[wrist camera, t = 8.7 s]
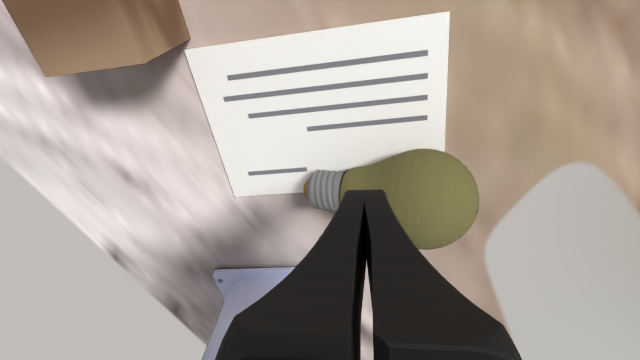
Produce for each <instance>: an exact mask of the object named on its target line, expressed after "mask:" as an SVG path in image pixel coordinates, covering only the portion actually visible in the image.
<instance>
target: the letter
mask: <svg viewBox="0 0 640 360" xmlns="http://www.w3.org/2000/svg"><path fill="white" fill-rule="evenodd" d="M449 18H450V12H449V11H447V12H440V13H433V14H427V15H420V16H413V17H406V18H399V19H392V20H385V21H378V22H371V23H364V24H358V25H351V26H344V27H337V28H330V29H323V30H316V31H309V32H302V33H295V34H288V35H282V36H275V37H268V38H261V39H254V40H247V41H240V42H233V43H226V44H219V45H212V46H206V47H199V48H192V49H185V50H184V52H185V54H186V57H187V60H188V63H189V66H190V69H191V72H192V75H193V78H194V81H195V83H196V86H197V89H198V92H199V95H200V98H201V101H202V104H203V107H204V109H205V112H206V115H207V118H208V121H209V124H210V127H211V130H212V133H213V136H214V138H215V141H216V144H217V147H218V150H219V153H220V156H221V159H222V162H223V164H224V167H225V170H226V173H227V176H228V179H229V182H230V185H231V188H232V191H233V193H234V196H235V197H241V196H257V195H272V194H287V193H302V192H304V191H303V188H304V184H305V182H306V181H307V180H308V179H309V178H310V177H311V176H312V174H313V173H314V172H315V171H316V170H325V171H326V170H329V171H333V170H334V171H336V172H337V171H345V170H346V169H351V168H354V167H360V166H367V165H371V164H374V163H377V162H380V161H383V160H385V159H387V158H390V157H392V156H394V155H397V154H399V153H402V152H405V151H408V150H414V149H434V150H439V151H442V152H444V149H445V123H446V97H447V70H448V44H449Z"/></svg>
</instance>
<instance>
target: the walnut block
mask: <svg viewBox="0 0 640 360" xmlns="http://www.w3.org/2000/svg"><path fill="white" fill-rule="evenodd" d="M2 1H3V3H4V5H5V7H6V8H7V10H8V12H9V14H10V15H11V17H12V19H13V21H14V23H15V24H16V26H17V28H18V30H19V31H20V33H21V35H22V37H23V38H24V40H25V42H26V44H27V45H28V47H29V49H30V51H31V52H32V54H33V56H34V58H35V59H36V61H37V63H38V65H39V67H40V68H41V70H42V72H43V74H44V75H45V77H52V76H59V75H66V74H73V73H81V72H88V71H95V70H102V69H109V68H117V67H124V66H131V65H138V64H145V63H146V62H148V61H150V60H152V59H154V58H156V57H158V56H159V55H161V54H163V53H165V52H167V51H169V50H171V49H172V48H174V47H176V46H178V45H180V44H182V43H184V42H185V41H187V40H189V39H191V38H190V35H189V32H188V29H187V26H186V23H185V20H184V17H183V14H182V10H181V7H180V4H179V1H178V0H2Z"/></svg>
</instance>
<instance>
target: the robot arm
mask: <svg viewBox="0 0 640 360" xmlns="http://www.w3.org/2000/svg"><path fill="white" fill-rule="evenodd" d="M366 259H367V267H368V275H369V284H370V293H371V301H372V310H373V347H374V360H522V359H521V357H520V354H519V352H518V350H517V349H516V347H515V345H514V343H513V341H512V339H511V337H510V336H509V334H508V332H507V331H506V329H505V327H504V326H503V325H502V324H501V323H500V322H498V321H497V320H496V319H494V318H493V317H491V316H490V315H489V314H487V313H486V312H484V311H483V310H481V309H480V308H479V307H477V306H476V305H474V304H473V303H472V302H471V301H470V300H468V299H467V298H466V297H465V296H463V295H462V294H461V293H460V292H459V291H458V290H457V289H456V288H455V287H453V286H452V285H451V284H450V283H449V282H448V281H447V280H446V279H445V278H444V277H443V276H442V275H441V274H440V273H439V272H438V271H437V270H436V269H435V268H434V267H433V266H432V265H431V264H430V263H429V262H428V260H427V259H426V258H425V257H424V256H423V255H422V254H421V252H420V251H419V250H418V249H417V247H416V246H415V245H414V243H413V242H412V240H411V239H410V238H409V236H408V235H407V233H406V232H405V230H404V229H403V227H402V226H401V224H400V222H399V221H398V219H397V217H396V216H395V214H394V212H393V210H392V208H391V206H390V204H389V201H388V199H387V196H386V193H385V191H383V190H382V189H377V190H347V191H346V192H345V193H344V196H343V199H342V201H341V203H340V205H339V207H338V209H337V211H336V213H335V215H334V216H333V218H332V220H331V222H330V223H329V225H328V227H327V228H326V230H325V231H324V233H323V234H322V235H321V237H320V238H319V240H318V241H317V243H316V244H315V245H314V246H313V248H312V249H311V250H310V251H309V253H308V254H307V255H306V256H305V257H304V259H303V260H302V261H301V262H300V263H299V264H298V265H297V266H296V267H281V268H246V269H217V270H215V271H214V273H213V278H214V280H215V282H216V284H217V287H218V289H219V291H220V293H221V296H222V298H223V300H224V304H223V307H222V309H221V312H220V314H219V317H218V319H217V322H216V324H215V327H214V330H213V332H212V335H211V337H210V340H209V342H208V345H207V347H206V350H205V352H204V355H203V357H202V360H360V326H361V310H362V300H363V290H364V280H365V270H366Z"/></svg>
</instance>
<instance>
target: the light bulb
mask: <svg viewBox="0 0 640 360" xmlns="http://www.w3.org/2000/svg"><path fill="white" fill-rule="evenodd" d="M377 189H382V190H383V191H385V193H386V196H387V199H388V201H389V204H390V206H391V208H392V210H393V212H394V214H395V216H396V217H397V219H398V221H399V222H400V224H401V226H402V227H403V229H404V230H405V232H406V233H407V235H408V236H409V238H410V239H411V240H412V242H413V243H414V245H415V246H416V247H417V249H423V250H429V249H437V248H441V247H444V246H447V245H449V244H452V243H453V242H455V241H456V240H458V239H459V238H461V237H462V236H463V235H464V234H465V233H466V232H467V231H468V229H469V228H470V227H471V226H472V224H473V222H474V220H475V218H476V215H477V212H478V207H479V193H478V187H477V184H476V182H475V179H474V177H473V176H472V174H471V173H470V171H469V170H468V169H467V167H466V166H465V165H464V164H462V163H461V162H460V161H459V160H458V159H456V158H455V157H453V156H451V155H450V154H447V153H445V152H442V151H439V150H434V149H414V150H408V151H405V152H402V153H399V154H397V155H394V156H392V157H390V158H387V159H385V160H383V161H380V162H377V163H374V164H371V165H367V166H360V167H354V168H351V169H346V170H345V171H337V172H336V171H334V170H333V171H329V170H326V171H325V170H316V171H315V172H314V173H313V174H312V176H311V177H310V178H309V179H308V180H307V181H306V182H305V184H304V188H303V191H304V194H305V196H306V197H307V199H308V200H309V201H310V203H311V205H312V207H313V208H317V209H319V208H320V209H327V210H330V209H331V210H334V211H337V209H338V207H339V205H340V203H341V201H342V199H343V196H344V193H345V192H346V191H347V190H377Z"/></svg>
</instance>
